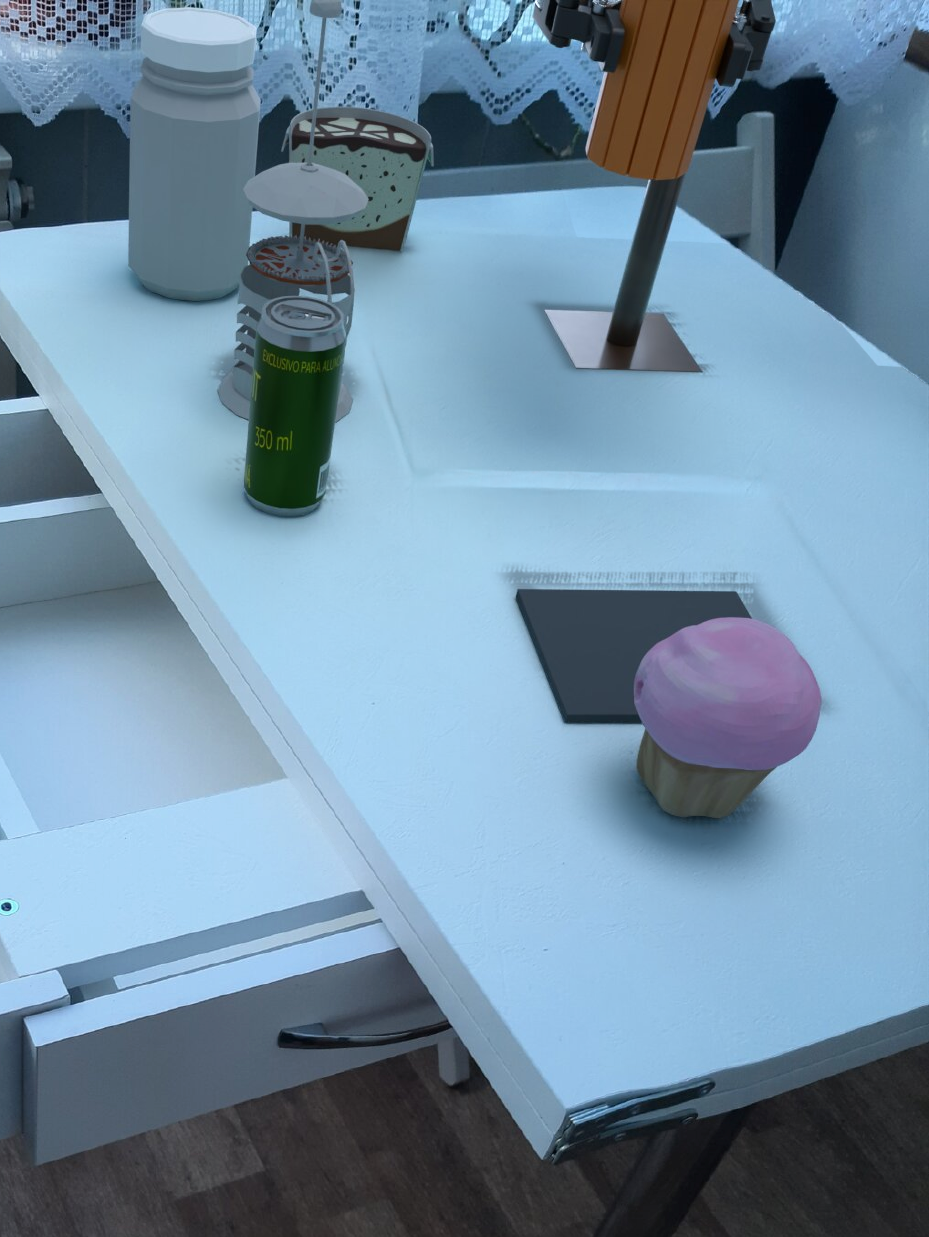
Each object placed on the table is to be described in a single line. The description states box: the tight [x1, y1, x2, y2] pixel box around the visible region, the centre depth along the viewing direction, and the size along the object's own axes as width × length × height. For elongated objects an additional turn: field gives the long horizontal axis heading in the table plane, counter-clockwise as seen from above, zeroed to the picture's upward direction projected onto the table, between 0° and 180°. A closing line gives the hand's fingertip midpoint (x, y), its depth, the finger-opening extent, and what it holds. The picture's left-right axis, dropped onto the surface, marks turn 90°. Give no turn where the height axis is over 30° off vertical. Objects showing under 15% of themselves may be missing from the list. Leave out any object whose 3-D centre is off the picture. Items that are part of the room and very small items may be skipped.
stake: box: [543, 173, 704, 373], centre depth 103 cm, size 10×10×15 cm
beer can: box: [243, 295, 347, 518], centre depth 86 cm, size 5×5×12 cm
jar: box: [127, 6, 262, 302], centre depth 105 cm, size 10×10×18 cm
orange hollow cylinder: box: [585, 0, 740, 181], centre depth 78 cm, size 6×6×10 cm
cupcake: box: [634, 617, 823, 819], centre depth 69 cm, size 9×9×10 cm
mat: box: [515, 588, 753, 724], centre depth 81 cm, size 14×12×1 cm
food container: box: [280, 106, 435, 253], centre depth 115 cm, size 12×6×10 cm, turn 88°
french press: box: [217, 0, 369, 423], centre depth 90 cm, size 10×12×25 cm
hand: (674, 59), depth 76 cm, fingers closed on orange hollow cylinder, 6 cm apart
